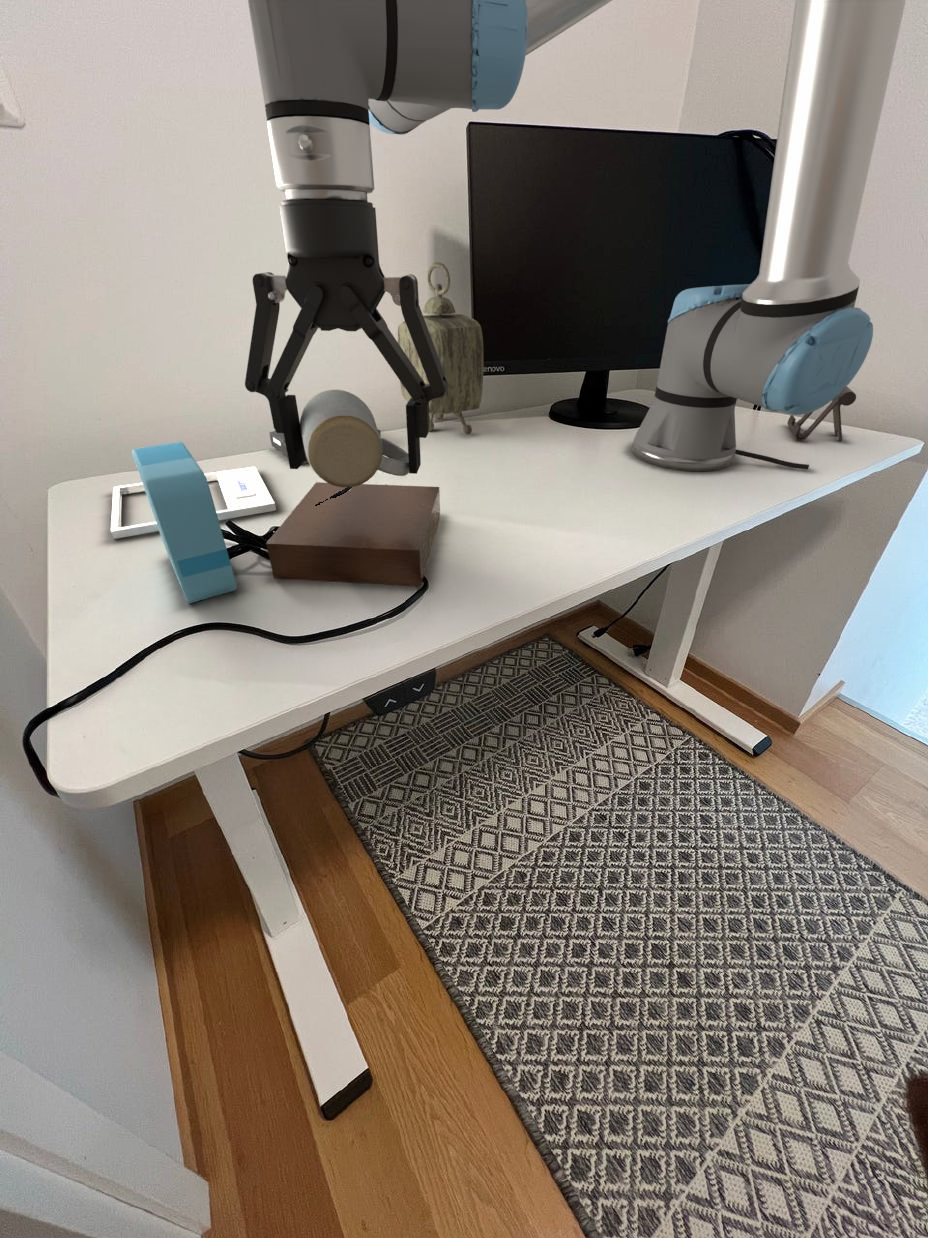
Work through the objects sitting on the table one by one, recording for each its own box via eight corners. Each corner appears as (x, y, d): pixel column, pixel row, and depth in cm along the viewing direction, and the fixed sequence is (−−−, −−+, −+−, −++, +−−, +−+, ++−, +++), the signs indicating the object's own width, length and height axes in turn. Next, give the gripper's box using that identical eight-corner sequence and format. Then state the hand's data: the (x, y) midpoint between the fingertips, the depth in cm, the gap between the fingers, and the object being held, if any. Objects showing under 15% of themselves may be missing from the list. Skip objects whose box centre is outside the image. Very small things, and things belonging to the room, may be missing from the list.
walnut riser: (440, 517, 67) (439, 486, 64) (421, 586, 54) (419, 550, 51) (320, 512, 68) (316, 482, 65) (273, 578, 55) (265, 543, 52)
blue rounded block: (240, 595, 52) (206, 474, 45) (190, 610, 50) (146, 485, 43) (212, 546, 60) (180, 437, 53) (168, 556, 58) (128, 445, 51)
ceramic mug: (312, 495, 51) (299, 411, 47) (306, 466, 58) (294, 390, 53) (421, 485, 54) (419, 404, 50) (403, 458, 60) (400, 385, 56)
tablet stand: (785, 426, 100) (802, 377, 95) (833, 430, 98) (852, 381, 93) (793, 440, 93) (811, 388, 88) (844, 445, 91) (866, 392, 86)
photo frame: (274, 501, 67) (110, 529, 61) (276, 510, 68) (113, 538, 61) (254, 465, 78) (112, 485, 71) (256, 472, 79) (116, 493, 72)
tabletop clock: (481, 436, 94) (486, 264, 79) (435, 444, 90) (431, 265, 76) (442, 416, 104) (440, 260, 90) (399, 422, 100) (389, 260, 86)
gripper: (156, 193, 41) (227, 475, 53) (473, 195, 39) (469, 484, 52) (204, 199, 47) (257, 450, 59) (479, 201, 45) (474, 458, 58)
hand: (356, 466), depth 56 cm, fingers closed on ceramic mug, 11 cm apart
